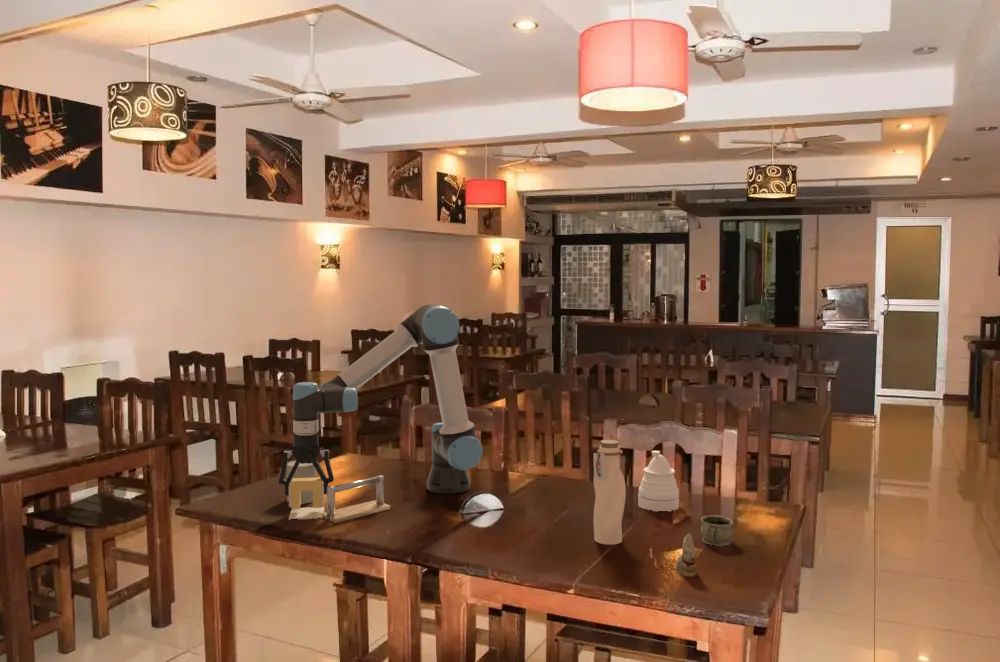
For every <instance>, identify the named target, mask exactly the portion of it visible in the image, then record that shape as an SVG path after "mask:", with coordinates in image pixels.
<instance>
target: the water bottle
mask: <svg viewBox="0 0 1000 662" xmlns="http://www.w3.org/2000/svg"><path fill="white" fill-rule="evenodd" d="M623 453H624V452H623V450H622V449H621V448H620V446H619V441H618V440H615V439H614V440H613V439H602V440H600V445H599V448H598V449H597V450H596V452H593V457H592V458H593V488H594V489H593V490H594V495H595V501H594V507H593V538H594V539H593V540H594V541H595V542H596V543H599V544H602V545H618V544H620V543H622V542H623V534H622V533H623V532H622V531H623V530H622V529H623V528H622V527H623V526H622V520H623V517H624V511H625V504H626V495H627V491H626V490H627V489H626V481H625V480H626V479H625V478H624V473H623V472H622V470H621V467H620V466H621V459H620V458H621V455H623Z"/></svg>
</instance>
